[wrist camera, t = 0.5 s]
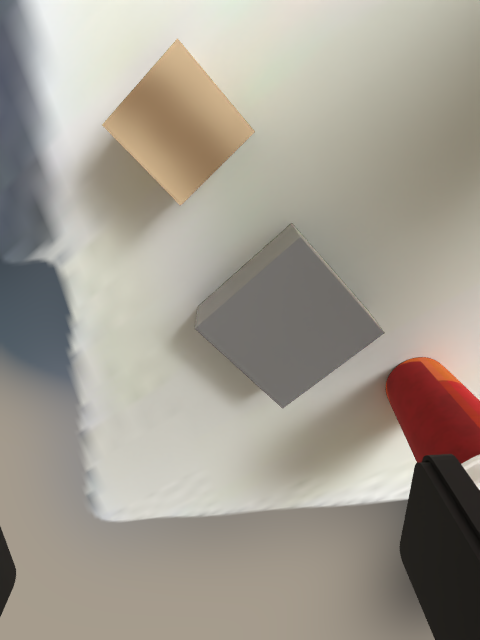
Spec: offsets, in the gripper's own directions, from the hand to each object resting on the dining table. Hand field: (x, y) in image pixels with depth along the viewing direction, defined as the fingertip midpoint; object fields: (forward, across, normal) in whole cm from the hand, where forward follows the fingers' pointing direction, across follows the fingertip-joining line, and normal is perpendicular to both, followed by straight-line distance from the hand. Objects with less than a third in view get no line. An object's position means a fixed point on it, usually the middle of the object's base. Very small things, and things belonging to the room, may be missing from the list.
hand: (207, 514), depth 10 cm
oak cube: (+26, +2, -8) cm, 27 cm away
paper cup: (+26, -18, +14) cm, 34 cm away
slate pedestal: (+26, -5, +6) cm, 27 cm away
